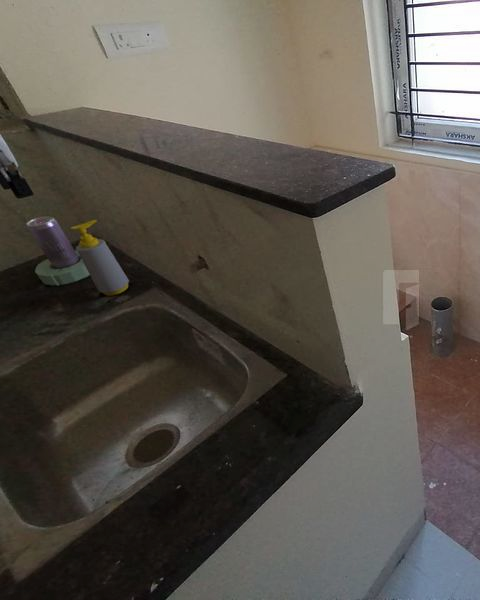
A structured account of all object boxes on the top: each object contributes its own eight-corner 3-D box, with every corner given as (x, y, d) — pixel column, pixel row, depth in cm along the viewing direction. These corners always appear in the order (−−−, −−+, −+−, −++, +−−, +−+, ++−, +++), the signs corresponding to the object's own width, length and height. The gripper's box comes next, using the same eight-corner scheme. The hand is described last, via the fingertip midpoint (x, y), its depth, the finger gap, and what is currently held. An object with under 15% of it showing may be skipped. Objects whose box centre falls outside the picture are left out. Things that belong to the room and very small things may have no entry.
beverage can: (82, 262, 109) (52, 213, 100) (87, 270, 106) (56, 220, 97) (57, 271, 106) (23, 221, 97) (61, 279, 103) (26, 228, 93)
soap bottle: (136, 286, 99) (102, 223, 88) (107, 300, 95) (67, 235, 84) (124, 278, 102) (89, 215, 91) (95, 291, 98) (55, 227, 87)
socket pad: (52, 291, 98) (45, 281, 97) (34, 274, 105) (27, 265, 103) (108, 268, 107) (103, 258, 105) (88, 254, 113) (83, 245, 111)
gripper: (-63, 112, 83) (-12, 189, 94) (-44, 122, 75) (10, 205, 85) (-18, 106, 88) (26, 180, 98) (5, 115, 80) (50, 195, 90)
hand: (18, 192), depth 92 cm, fingers open, 9 cm apart
